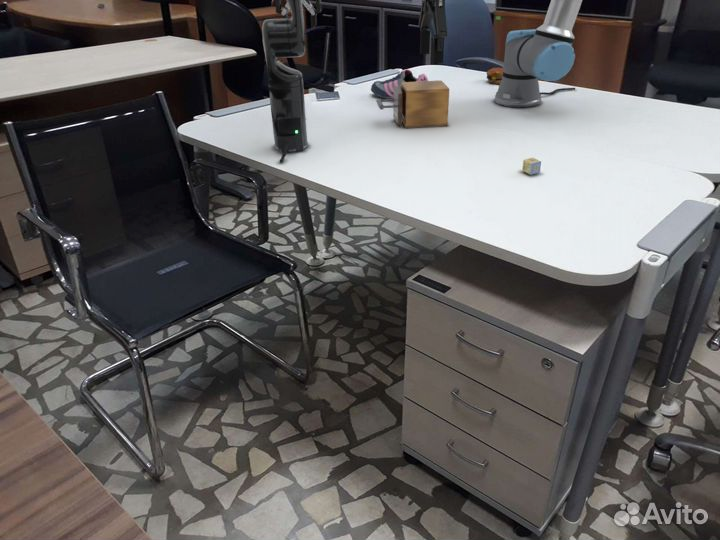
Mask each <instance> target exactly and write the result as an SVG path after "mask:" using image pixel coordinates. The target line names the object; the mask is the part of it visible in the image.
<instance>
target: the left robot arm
mask: <svg viewBox="0 0 720 540" xmlns="http://www.w3.org/2000/svg"><path fill="white" fill-rule="evenodd" d="M285 1H286V4H285V5H284V6H283V7H284V8H283V9H282V0H275V3H274V4H275V13H276V14H279V15H281V18H269V19H268V18H267V19H264V21H263V22H262V26H261V36H262V45H263V51H264V57H265V65H266V73H267V83H268V84H267V85H268V93H269V105H270V113H271V114H270V115H271V124H272V133H273V142H274V144H273V146H274V150H276V151H279V152H280V153H281V157H280V159H279V163H281V164H282V163H283V162H284V160H285V158H286V155H287V153H294V152H296V153H297V152H304V150H305V149H307V148H308V147H309V142H308V131H307V118H306V116H307V115H306V104H305V89H304V88H305V87H304V76H303V73H302V72H301V71H300V70H297V69H295V68H292V67H289V66H287V65H285V64H284V63H282V62H281V61H280V60H279V59H280V58H281V59H282V58H283V59H285V58H301V57H303V56H304V55H305V54H306V49H307V37H306V27H305V25H306V24H305V16H304V9H303V8H304V7H305V9H306V10H307V11H308V12H309V13H310V14H311V15H310V27H311V28H310V29H315V28H316V27H317V24H318V23H317V22H318V21H317V16H318V14H320V13H322V12H323V7H322V6H323V4H322V0H314V1H315V8H314V6H313V4H312V3H311V2H310V0H285ZM289 11H290V14H291V15H290V16H291V17H290V18H289V14H288V13H289Z"/></svg>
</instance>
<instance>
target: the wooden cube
mask: <svg viewBox="0 0 720 540" xmlns="http://www.w3.org/2000/svg"><path fill="white" fill-rule="evenodd" d="M402 87H403V89H404V90H405V92H406V122H405V120H404V119H403V117H402V124H403V126H404V127H405V129H416V128H435V127H448V121H449V103H450V87H448V85H447V84H446V83H445V82H444V81H443V80H428V81H419V82H401V93H402Z"/></svg>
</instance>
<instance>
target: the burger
mask: <svg viewBox="0 0 720 540" xmlns="http://www.w3.org/2000/svg"><path fill="white" fill-rule="evenodd" d="M503 68H504V67H493V68H490V69H488V70H487V71H486V79H487V81H488V82H489V83H494V84H496V85H500V83H501V81H502V77H503Z"/></svg>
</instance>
